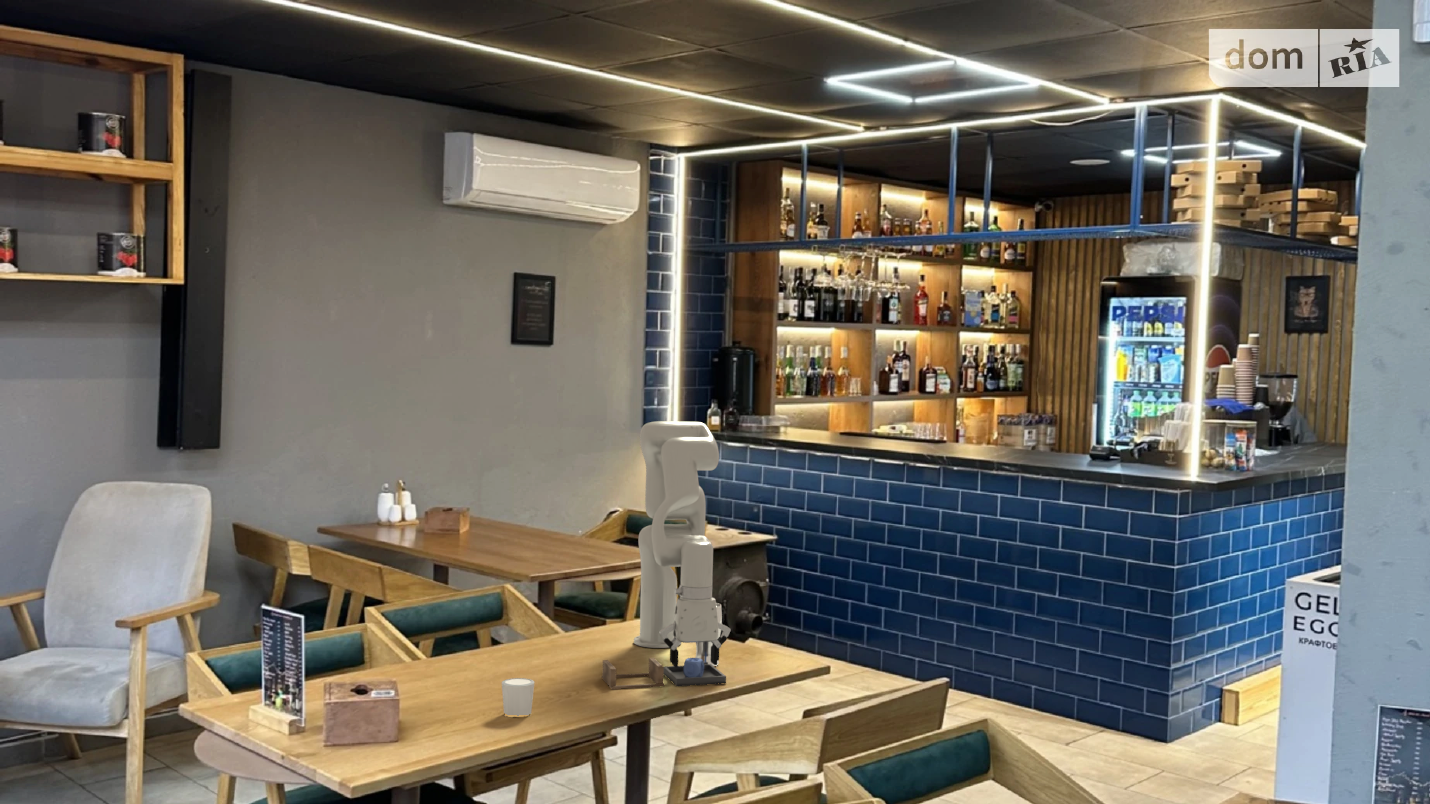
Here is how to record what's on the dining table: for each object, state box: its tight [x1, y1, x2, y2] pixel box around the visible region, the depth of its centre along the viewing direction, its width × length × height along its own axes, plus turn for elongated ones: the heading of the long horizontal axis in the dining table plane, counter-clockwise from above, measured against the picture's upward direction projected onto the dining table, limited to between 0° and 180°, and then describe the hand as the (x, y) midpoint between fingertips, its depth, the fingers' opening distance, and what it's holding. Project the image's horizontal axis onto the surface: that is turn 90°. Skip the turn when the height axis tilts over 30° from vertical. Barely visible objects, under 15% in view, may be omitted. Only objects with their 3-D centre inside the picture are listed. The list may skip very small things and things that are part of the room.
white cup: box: [501, 677, 535, 716], centre depth 274 cm, size 7×7×7 cm
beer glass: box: [694, 602, 723, 667], centre depth 321 cm, size 7×7×15 cm
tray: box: [663, 664, 727, 687], centre depth 307 cm, size 12×12×2 cm
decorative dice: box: [683, 657, 704, 678], centre depth 307 cm, size 4×4×4 cm
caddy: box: [601, 657, 665, 690], centre depth 303 cm, size 11×12×4 cm
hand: (694, 664), depth 307 cm, fingers open, 9 cm apart
